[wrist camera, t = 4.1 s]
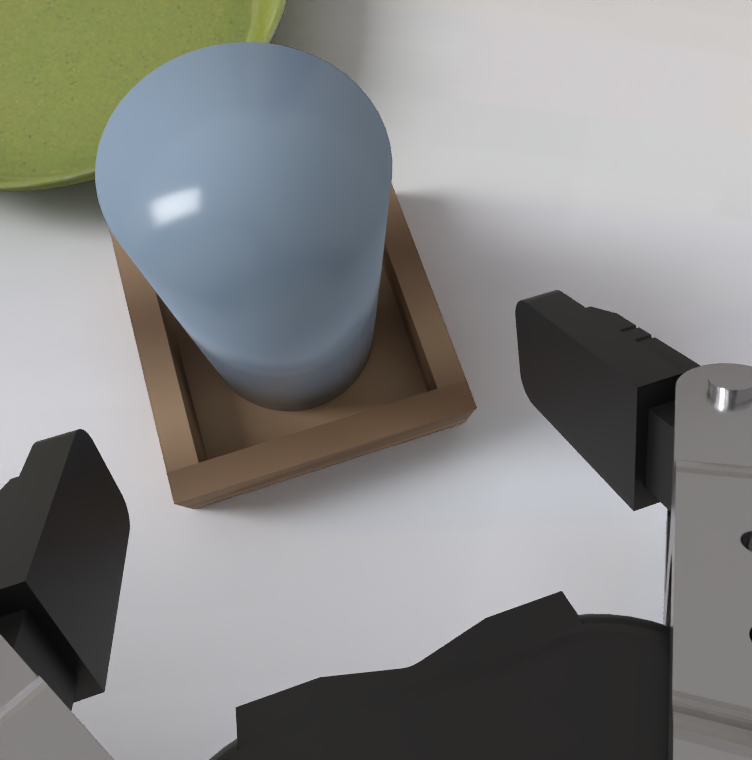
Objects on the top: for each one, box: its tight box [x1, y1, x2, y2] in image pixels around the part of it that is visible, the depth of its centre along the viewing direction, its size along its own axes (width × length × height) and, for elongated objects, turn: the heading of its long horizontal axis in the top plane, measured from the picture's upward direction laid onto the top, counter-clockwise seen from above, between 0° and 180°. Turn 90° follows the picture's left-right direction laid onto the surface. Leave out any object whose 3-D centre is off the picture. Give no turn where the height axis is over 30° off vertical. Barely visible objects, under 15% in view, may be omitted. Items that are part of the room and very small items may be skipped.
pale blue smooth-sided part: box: [95, 42, 392, 411], centre depth 17 cm, size 8×6×10 cm
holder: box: [109, 183, 477, 509], centre depth 22 cm, size 10×10×2 cm
